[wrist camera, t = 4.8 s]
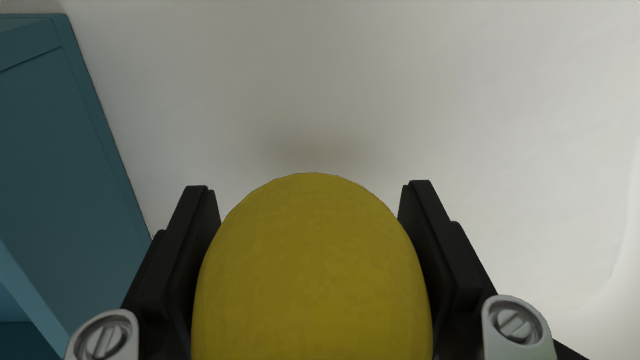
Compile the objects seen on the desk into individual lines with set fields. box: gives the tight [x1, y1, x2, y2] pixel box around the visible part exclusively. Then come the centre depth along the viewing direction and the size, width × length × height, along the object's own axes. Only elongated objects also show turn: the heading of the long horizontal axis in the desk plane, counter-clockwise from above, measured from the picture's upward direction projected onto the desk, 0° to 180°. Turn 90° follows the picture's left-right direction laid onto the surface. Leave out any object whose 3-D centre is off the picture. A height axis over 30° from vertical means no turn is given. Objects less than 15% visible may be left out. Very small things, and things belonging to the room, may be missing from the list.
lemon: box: [191, 173, 433, 360], centre depth 9 cm, size 6×6×8 cm
